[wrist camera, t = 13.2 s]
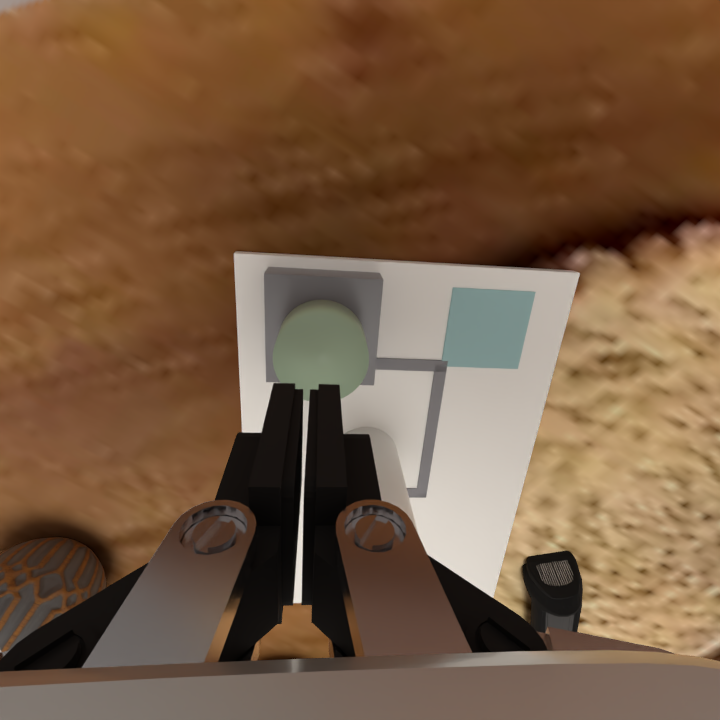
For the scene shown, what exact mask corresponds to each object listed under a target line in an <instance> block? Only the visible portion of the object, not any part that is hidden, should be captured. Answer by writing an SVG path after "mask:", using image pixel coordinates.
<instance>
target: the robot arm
mask: <svg viewBox="0 0 720 720" xmlns="http://www.w3.org/2000/svg"><path fill="white" fill-rule="evenodd" d="M302 443H303V389H295V383H273V387H272V391H271V395H270V399H269V403H268V407H267V412H266V416H265V420H264V424H263V428H262V432H261V433H246V432H239V433H238V434H237V436H236V439H235V442H234V445H233V448H232V451H231V454H230V457H229V459H228V462H227V465H226V468H225V471H224V474H223V477H222V480H221V483H220V486H219V489H218V492H217V495H216V498H215V500H214V501H209V502H205V503H202V504H200V505H197V506H195V507H192V508H191V509H189V510H188V511H187V512H185V513H184V514H182V515H181V516H180V517H179V518H178V520H177V521H176V522H175V523H174V524H173V526H172V527H171V529H170V530H169V532H168V534H167V535H166V537H165V538H164V540H163V541H162V543H161V545H160V546H159V548H158V549H157V551H156V552H155V554H154V555H153V557H152V559H151V560H150V562H149V563H147V564H145V565H144V566H142V567H140V568H139V569H137V570H135V571H134V572H132V573H130V574H129V575H127V576H125V577H123V578H122V579H120V580H118V581H117V582H115V583H113V584H112V585H110V586H108V587H107V588H105V589H103V590H102V591H100V592H98V593H97V594H95V595H93V596H92V597H90V598H88V599H87V600H85V601H83V602H82V603H80V604H78V605H77V606H75V607H73V608H72V609H70V610H68V611H67V612H65V613H63V614H62V615H60V616H58V617H56V618H55V619H53V620H51V621H50V622H48V623H46V624H45V625H43V626H41V627H40V628H38V629H36V630H35V631H33V632H32V633H31V634H29V635H28V636H26V637H25V638H24V639H22V640H21V641H19V642H18V643H17V644H16V645H15V646H14V647H13V648H12V649H11V650H9V651H5V652H1V650H0V720H720V661H716V660H711V659H706V658H702V657H696V656H687V655H678V654H674V653H671V652H668V651H665V650H662V649H659V648H655V647H649V646H644V645H639V644H634V643H629V642H624V641H619V640H614V639H609V638H603V637H598V636H593V635H588V634H583V633H578V632H573V631H568V630H563V629H557V628H552V627H547V630H546V633H541V632H536V630H535V629H534V628H533V627H532V626H531V625H530V624H529V623H528V622H527V621H525V620H524V619H523V618H522V617H520V616H519V615H518V614H516V613H515V612H513V611H512V610H510V609H509V608H507V607H506V606H504V605H503V604H501V603H500V602H498V601H497V600H495V599H494V598H492V597H491V596H489V595H488V594H486V593H485V592H483V591H482V590H480V589H479V588H477V587H476V586H474V585H473V584H471V583H470V582H468V581H467V580H465V579H464V578H462V577H461V576H459V575H458V574H456V573H455V572H453V571H452V570H450V569H449V568H447V567H446V566H444V565H442V564H441V563H439V562H438V561H436V560H435V559H433V558H432V557H430V556H429V555H427V553H426V551H425V548H424V546H423V544H422V542H421V540H420V537H419V535H418V533H417V531H416V529H415V526H414V524H413V522H412V521H411V519H410V518H409V516H408V515H407V514H406V513H405V512H404V511H403V510H401V509H400V508H399V507H397V506H395V505H393V504H391V503H389V502H385V501H382V500H381V494H380V489H379V483H378V478H377V472H376V467H375V461H374V456H373V450H372V445H371V439H370V435H369V434H343V423H342V410H341V397H340V385H337V384H319V386H318V390H317V389H310V398H309V414H308V430H307V446H306V462H305V478H304V505H303V555H302V605H312V623H313V624H315V625H316V626H317V627H318V628H319V629H320V630H321V631H322V632H323V633H324V634H325V635H326V636H327V637H328V638H329V655H330V658H311V659H285V660H260V661H257V660H258V656H259V652H260V644H261V638H262V637H263V636H264V635H265V634H267V633H268V632H269V631H270V630H271V629H272V628H273V627H274V626H275V625H277V624H281V622H282V612H283V606H284V605H293V600H294V586H295V572H296V558H297V543H298V529H299V515H300V501H301V486H302Z"/></svg>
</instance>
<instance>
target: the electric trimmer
mask: <svg viewBox="0 0 720 720" xmlns="http://www.w3.org/2000/svg"><path fill="white" fill-rule="evenodd" d="M523 576H524V582H525V585H526V588H527V590H528V592H529V595H530V597H531V626H532V627H533V628H534V629H535V630H536V632H541V633H546V630H547V627H552V628H557V629H563V630H568V631H573V632H577V630H578V624H579V619H580V613H581V607H582V593H583V588H582V578H581V575H580V572H579V568H578V565H577V562H576V559H575V557H574V556H573V555H572V554H571V553H570V552H568V551H562V552H555V553H548V554H542V555H535V556H529V557H528V559H527V563H526V564H524V565H523Z"/></svg>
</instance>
